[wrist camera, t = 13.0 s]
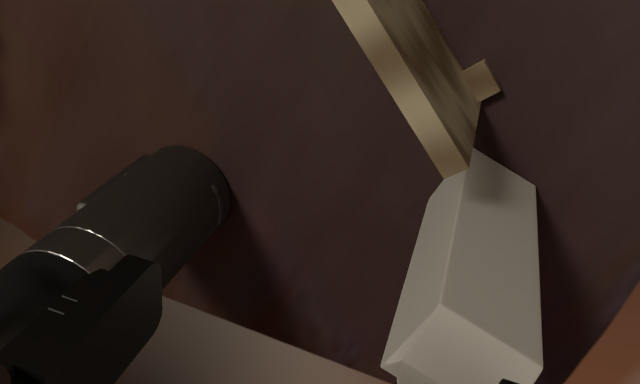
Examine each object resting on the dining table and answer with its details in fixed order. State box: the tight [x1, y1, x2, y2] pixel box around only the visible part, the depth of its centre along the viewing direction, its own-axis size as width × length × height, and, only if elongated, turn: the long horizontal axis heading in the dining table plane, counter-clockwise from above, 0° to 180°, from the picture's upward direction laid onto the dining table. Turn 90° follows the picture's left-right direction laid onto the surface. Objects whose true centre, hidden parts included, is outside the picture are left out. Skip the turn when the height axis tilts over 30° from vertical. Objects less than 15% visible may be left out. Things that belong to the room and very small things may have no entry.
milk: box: [380, 148, 543, 384], centre depth 34 cm, size 6×6×22 cm
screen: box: [332, 0, 501, 179], centre depth 34 cm, size 12×5×11 cm, turn 35°
